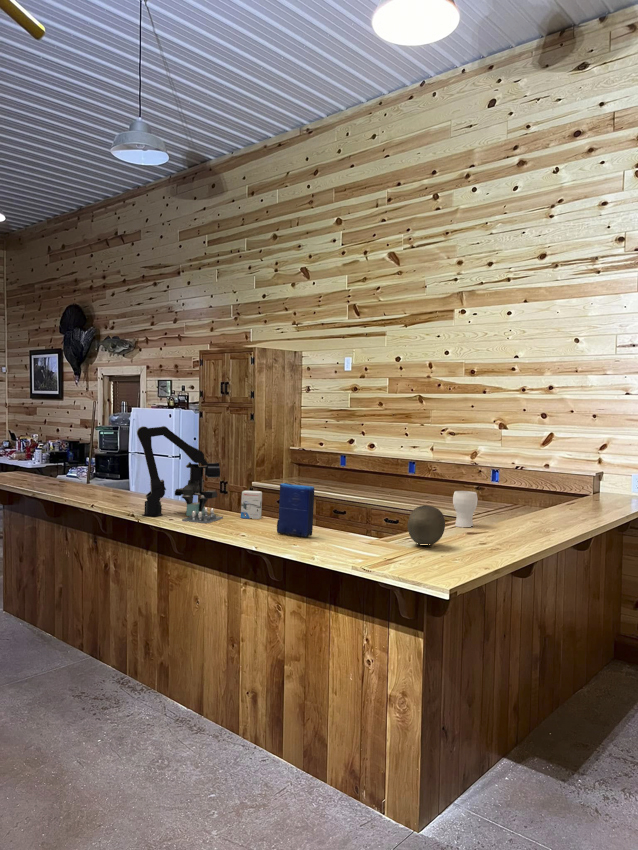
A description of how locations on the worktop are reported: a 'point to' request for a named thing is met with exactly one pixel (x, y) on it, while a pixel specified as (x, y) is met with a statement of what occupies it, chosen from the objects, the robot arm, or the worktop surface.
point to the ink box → (251, 504)
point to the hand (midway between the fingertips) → (195, 512)
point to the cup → (464, 507)
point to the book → (295, 510)
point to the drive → (193, 508)
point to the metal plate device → (203, 517)
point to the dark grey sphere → (426, 525)
